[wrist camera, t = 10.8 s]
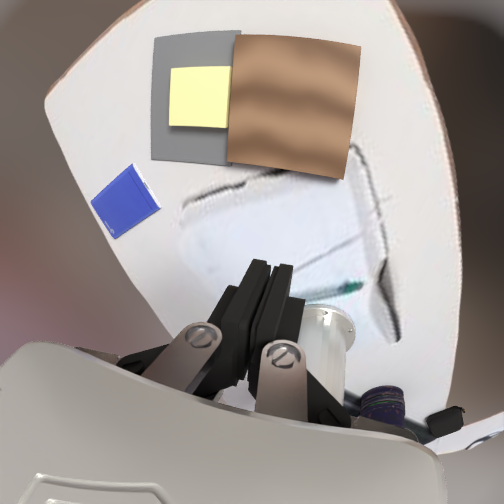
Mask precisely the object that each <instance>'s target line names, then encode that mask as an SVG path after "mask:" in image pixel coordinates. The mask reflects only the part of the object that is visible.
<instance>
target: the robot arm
mask: <svg viewBox="0 0 504 504" xmlns="http://www.w3.org/2000/svg"><path fill="white" fill-rule="evenodd" d="M270 272H271V265H267V261H264V260H258V259H253V260H252V262H251V264H250V266H249V268H248V270H247V272H246V274H245V275H244V277H243V279H242V281H241V283H240V285H239V287H237V286H232V285H229V286H228V287H227V288H226V290H225V292H224V294H223V295H222V297H221V299H220V300H219V302H218V304H217V306H216V307H215V309H214V311H213V312H212V314H211V316H210V318H209V319H208V321H207V323H206V322H197V323H193V324H190V325H188V326H186V327H185V328H184V329H183V330H182V331H181V332H180V333H179V334H178V335H177V336H176V338H175V339H174V340H173V341H172V342H171V343H170V344H167V345H163V346H160V347H156V348H153V349H149V350H145V351H142V352H139V353H135V354H131V355H128V356H125V357H123V358H120V356H119V355H116V354H111V353H106V352H101V351H96V350H91V349H87V348H82V347H74V348H73V347H70V346H67V345H64V344H60V343H56V342H49V341H33V342H30V343H27V344H25V345H24V346H22V347H21V348H19V349H18V350H17V351H16V352H15V353H14V354H13V355H11V356H10V357H9V358H8V359H7V360H6V361H5V362H4V363H3V364H2V365H1V366H0V504H447V485H446V478H445V473H444V469H443V466H442V463H441V461H440V459H439V458H438V456H437V455H436V454H435V453H434V452H433V451H432V450H430V449H429V448H427V447H426V446H424V445H422V444H420V443H418V439H417V437H416V435H415V434H414V433H413V432H412V431H410V430H408V429H406V428H402V427H398V426H394V425H390V424H386V423H383V422H379V421H376V420H372V419H369V418H365V417H362V416H359V417H358V418H356V417H353V416H350V414H349V413H348V412H347V410H346V409H345V408H344V407H343V401H344V385H345V362H346V352H347V351H348V350H349V349H350V348H351V346H352V345H353V343H354V340H355V326H354V323H353V321H352V320H351V318H350V317H349V316H348V315H347V314H346V313H345V312H343V311H341V310H340V309H337V308H335V307H332V306H328V305H321V304H312V305H306V306H304V305H305V299H300V298H294V297H289V292H290V285H291V279H292V272H293V266H292V265H287V264H281V263H280V265H279V267H278V266H274V269H273V271H272V274H271V277H270ZM247 370H248V378H247V381H248V382H249V388H248V390H249V392H250V393H251V394H252V396H253V397H254V399H255V400H256V403H255V411H254V412H252V411H248V410H244V409H240V408H236V407H232V406H228V405H224V404H221V403H218V400H219V399H220V397H221V396H222V394H223V389H225V388H228V387H230V386H237V383H238V380H239V379H240V380H244V378H245V375H246V373H247Z"/></svg>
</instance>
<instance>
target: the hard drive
mask: <svg viewBox="0 0 504 504" xmlns="http://www.w3.org/2000/svg"><path fill="white" fill-rule="evenodd" d="M91 204H92V206H93V208H94V209H95V211H96V213H97V214H98V216H99V217H100V219H101V220H102V222H103V223H104V225H105V227H106V228H107V230H108V231H109V233H110V234H111V236H112V237H113V238H114V239H116V238H118V237H119V236H120V235H122V234H123V233H125V232H126V231H128V230H129V229H130V228H132V227H133V226H135V225H136V224H138V223H139V222H141V221H142V220H144V219H145V218H147V217H148V216H150V215H151V214H153V213H154V212H156V211H157V210H159V209H160V208H162V206H161V204H160V203H159V201H158V200H157V198H156V196H155V195H154V193H153V192H152V190H151V188H150V187H149V185H148V184H147V182H146V180H145V179H144V177H143V176H142V174H141V172H140V171H139V169H138V167H137V166H136V164H135V163H133V164H131V165H130V166H129V167H128V168H127V169H125V170H124V171H123V172H122V173H121V174H120V175H119V176H117V177H116V178H115V179H114V180H113V181H112V182H111V183H110V184H109V185H107V186H106V187H105V188H104V189H103V190H102V191H101V192H100V193H99V194H98V195H97V196H96V197H95V198H94V199H93V200H92V201H91Z"/></svg>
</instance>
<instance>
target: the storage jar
mask: <svg viewBox="0 0 504 504" xmlns="http://www.w3.org/2000/svg"><path fill="white" fill-rule="evenodd" d="M403 397H404V394H403V391H402V389H400V388H399V387H396V386H379V387H376V388H373V389H370V390H369V391H367V392H365V393H364V394H363V396H362V398H361V408H360V416H362V417H365V418H369V419H372V420H376V421H379V422H383V423H386V424H390V425H394V426H398V427H402V428H405V424H404V416H405V402H404V398H403Z"/></svg>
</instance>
